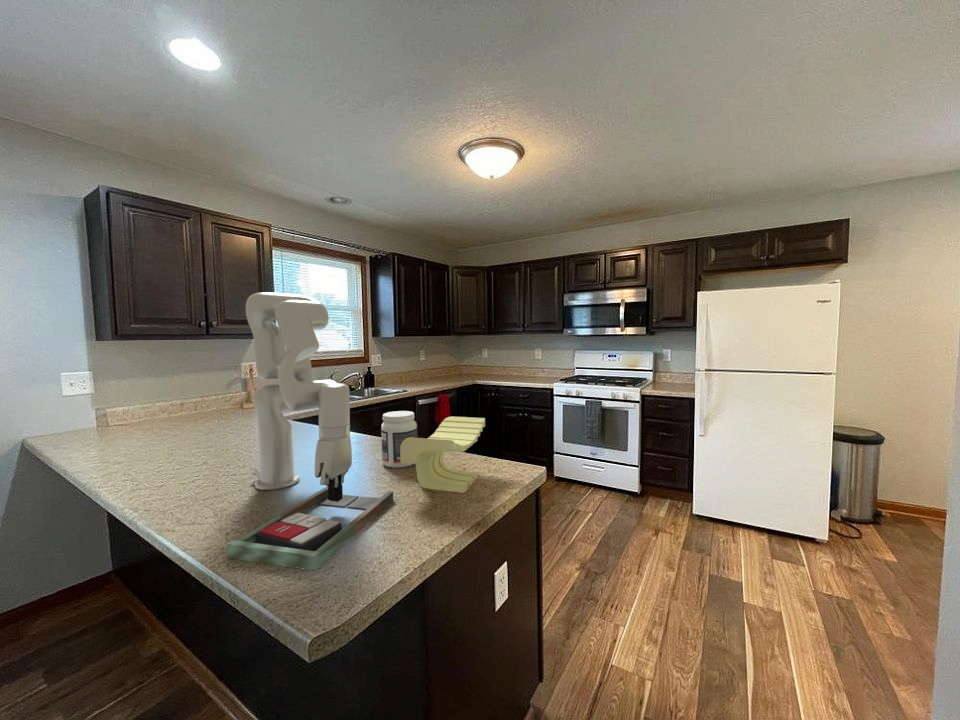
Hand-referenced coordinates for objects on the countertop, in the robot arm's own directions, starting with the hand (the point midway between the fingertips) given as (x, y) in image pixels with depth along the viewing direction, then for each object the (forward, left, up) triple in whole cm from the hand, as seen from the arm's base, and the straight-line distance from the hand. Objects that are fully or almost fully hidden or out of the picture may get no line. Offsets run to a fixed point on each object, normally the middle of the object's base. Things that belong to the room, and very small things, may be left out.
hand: (335, 499), depth 102 cm
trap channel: (+1, -7, -3) cm, 8 cm away
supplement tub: (-1, +41, -4) cm, 41 cm away
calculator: (+1, -14, -4) cm, 15 cm away
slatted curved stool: (+22, +27, -4) cm, 35 cm away
